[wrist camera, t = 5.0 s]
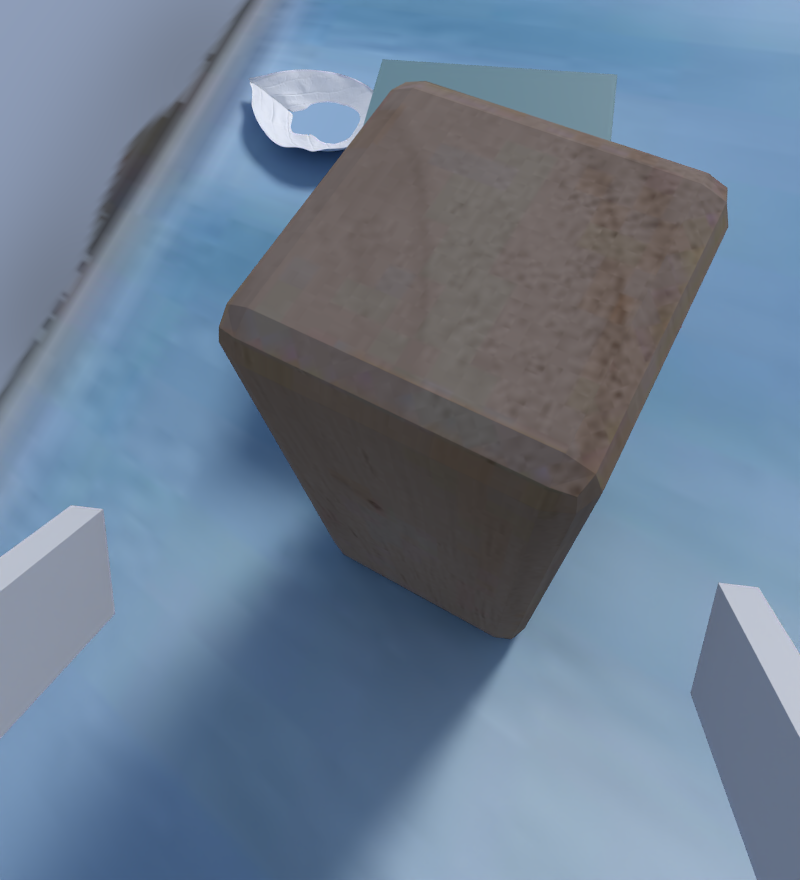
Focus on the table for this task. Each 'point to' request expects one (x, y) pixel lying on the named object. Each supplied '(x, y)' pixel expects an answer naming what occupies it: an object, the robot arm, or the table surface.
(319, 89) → the pale veined leaf
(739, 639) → the robot arm
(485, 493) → the wooden block
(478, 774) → the table surface
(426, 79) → the grey teal block
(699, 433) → the table surface
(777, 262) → the table surface
